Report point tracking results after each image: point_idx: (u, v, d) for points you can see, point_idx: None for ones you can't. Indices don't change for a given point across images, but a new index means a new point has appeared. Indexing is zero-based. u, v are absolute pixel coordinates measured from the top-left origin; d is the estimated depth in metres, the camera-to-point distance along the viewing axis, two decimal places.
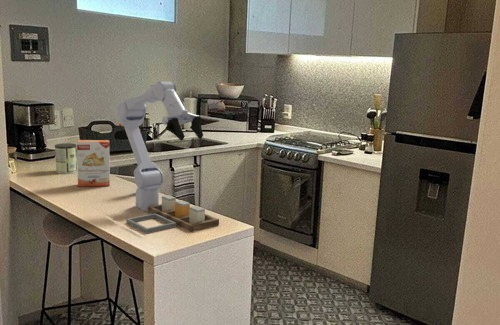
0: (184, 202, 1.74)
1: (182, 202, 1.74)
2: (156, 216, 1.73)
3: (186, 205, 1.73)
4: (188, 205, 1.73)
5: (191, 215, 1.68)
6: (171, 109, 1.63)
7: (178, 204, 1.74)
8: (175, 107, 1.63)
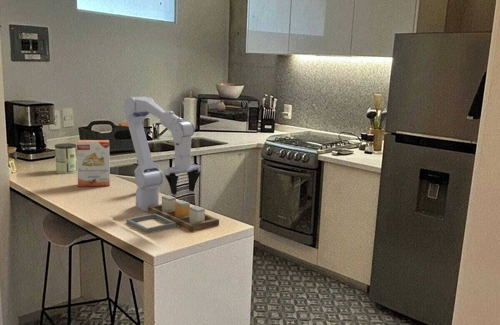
0: (184, 202, 1.74)
1: (182, 202, 1.74)
2: (156, 216, 1.73)
3: (186, 205, 1.73)
4: (188, 205, 1.73)
5: (191, 215, 1.68)
6: (178, 160, 1.69)
7: (178, 204, 1.74)
8: (182, 161, 1.69)
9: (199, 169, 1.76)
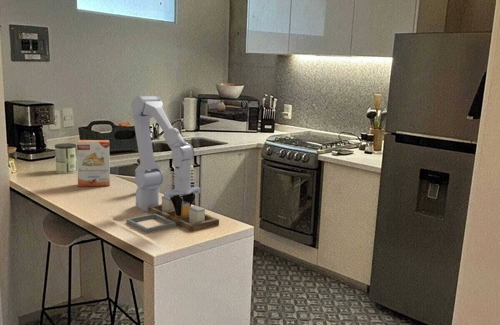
0: (184, 202, 1.74)
1: (182, 202, 1.74)
2: (156, 216, 1.73)
3: (186, 205, 1.73)
4: (188, 205, 1.73)
5: (191, 215, 1.68)
6: (177, 183, 1.71)
7: None
8: (182, 184, 1.70)
9: (199, 191, 1.78)
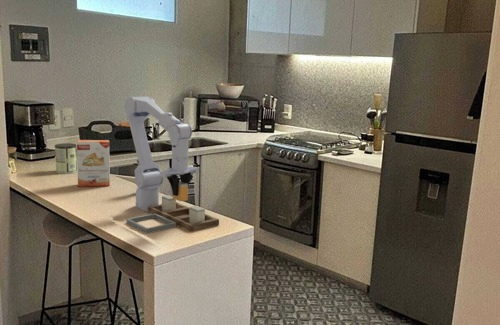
0: (182, 183, 1.72)
1: (180, 183, 1.72)
2: (156, 216, 1.73)
3: (184, 186, 1.70)
4: (186, 186, 1.71)
5: (191, 215, 1.68)
6: (175, 162, 1.68)
7: None
8: (179, 163, 1.68)
9: (196, 171, 1.75)
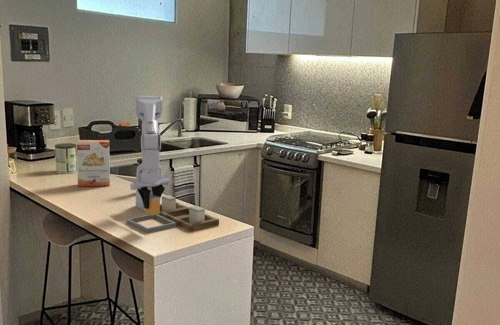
0: (154, 196, 1.64)
1: (152, 196, 1.64)
2: (156, 216, 1.73)
3: (156, 199, 1.63)
4: (158, 199, 1.63)
5: (191, 215, 1.68)
6: (145, 174, 1.61)
7: None
8: (149, 175, 1.61)
9: (169, 183, 1.68)
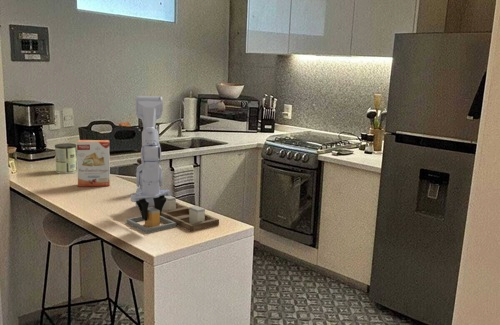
0: (154, 209, 1.65)
1: (152, 209, 1.65)
2: None
3: (156, 212, 1.64)
4: (158, 212, 1.64)
5: (191, 215, 1.68)
6: (145, 185, 1.62)
7: (147, 211, 1.65)
8: (149, 187, 1.61)
9: (169, 194, 1.69)
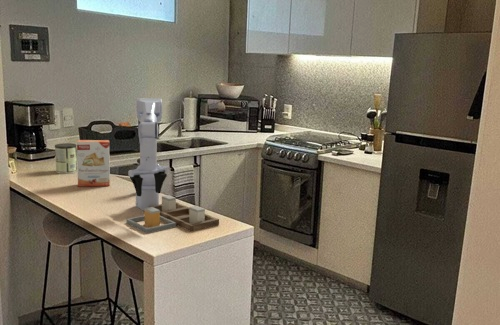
0: (154, 209, 1.65)
1: (152, 209, 1.65)
2: None
3: (156, 212, 1.64)
4: (158, 212, 1.64)
5: (191, 215, 1.68)
6: (143, 161, 1.65)
7: (147, 211, 1.65)
8: (147, 162, 1.65)
9: (166, 171, 1.72)
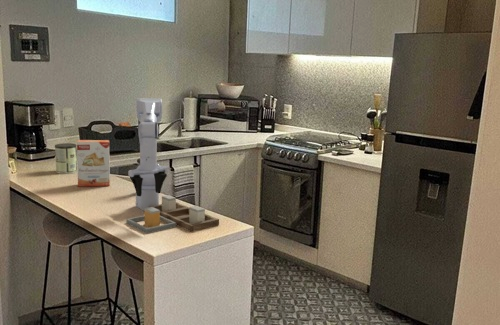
0: (154, 209, 1.65)
1: (152, 209, 1.65)
2: None
3: (156, 212, 1.64)
4: (158, 212, 1.64)
5: (191, 215, 1.68)
6: (143, 161, 1.65)
7: (147, 211, 1.65)
8: (147, 162, 1.65)
9: (166, 171, 1.72)
